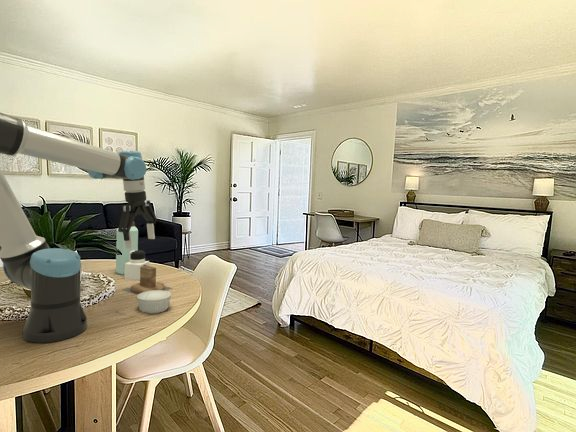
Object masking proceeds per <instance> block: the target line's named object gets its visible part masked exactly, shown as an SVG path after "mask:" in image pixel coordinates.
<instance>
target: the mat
mask: <svg viewBox="0 0 576 432" xmlns="http://www.w3.org/2000/svg"><path fill="white" fill-rule="evenodd" d="M172 289H173V287H170V286H169V287H168V286H166V285H164V290H163V291H169V290H172ZM121 291H124V292H126V293H127V292H128V293H131V294H133V295H137V296H138V295H139V294H137V293H133V292H131V291H130V287H128V288H123V289H121Z"/></svg>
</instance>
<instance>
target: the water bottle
mask: <svg viewBox="0 0 576 432" xmlns="http://www.w3.org/2000/svg"><path fill="white" fill-rule="evenodd" d="M118 228H119V227H117V228H116V235H115V238H116V240H117V241H115V242H116V243H115V244H116V245H115V249H116V248H117V249H119V250H120V251H121V253H122V255H117V254H116V253H115V273H116V274H117V275H122V276H125V263H127V262H130V260H129V259H130V252H131V251H134V250H139V246H138V245H139V242H138V241H139V230H138V228H137V227H136V223H135V221H133V224H132V226H131V229H130V231H129V232H131V234H132V242H133V249H127V248H126V246H125V241H124V236H123V232H118ZM126 229H127V228H126Z"/></svg>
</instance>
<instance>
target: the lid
mask: <svg viewBox="0 0 576 432" xmlns="http://www.w3.org/2000/svg"><path fill="white" fill-rule="evenodd" d="M164 286H165V284H164V283H162V282H158V281H157V267H153V266H150V265H149V266H142V267H140V280H139V282H137V283H134V284H131V286H130V287H129V288H130V291H131V292H133V293H137V294H140V293H143V292H147V291H153V290H164ZM133 293H132V294H133Z"/></svg>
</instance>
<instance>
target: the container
mask: <svg viewBox="0 0 576 432" xmlns="http://www.w3.org/2000/svg"><path fill="white" fill-rule="evenodd" d="M129 260H130V262H127V263H125V275H124V280H131V281H132V280H134V281H140V267H142V266H150V260H146V251H144V250H141V249H138V250H134V251H131V252H130V259H129Z"/></svg>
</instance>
